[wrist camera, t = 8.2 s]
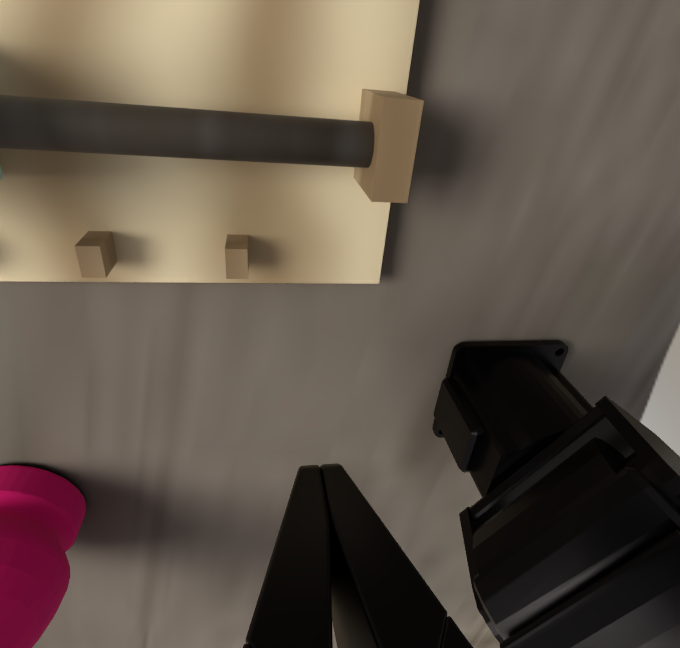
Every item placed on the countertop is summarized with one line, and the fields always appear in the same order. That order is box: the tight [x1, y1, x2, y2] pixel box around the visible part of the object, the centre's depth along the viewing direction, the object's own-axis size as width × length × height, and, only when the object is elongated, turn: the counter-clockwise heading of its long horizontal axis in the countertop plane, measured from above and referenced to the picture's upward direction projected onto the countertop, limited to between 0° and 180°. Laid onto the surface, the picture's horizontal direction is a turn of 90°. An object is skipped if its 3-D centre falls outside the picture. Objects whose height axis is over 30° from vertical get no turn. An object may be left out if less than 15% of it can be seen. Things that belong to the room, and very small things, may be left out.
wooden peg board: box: [0, 0, 424, 284], centre depth 13 cm, size 22×12×5 cm, turn 85°
